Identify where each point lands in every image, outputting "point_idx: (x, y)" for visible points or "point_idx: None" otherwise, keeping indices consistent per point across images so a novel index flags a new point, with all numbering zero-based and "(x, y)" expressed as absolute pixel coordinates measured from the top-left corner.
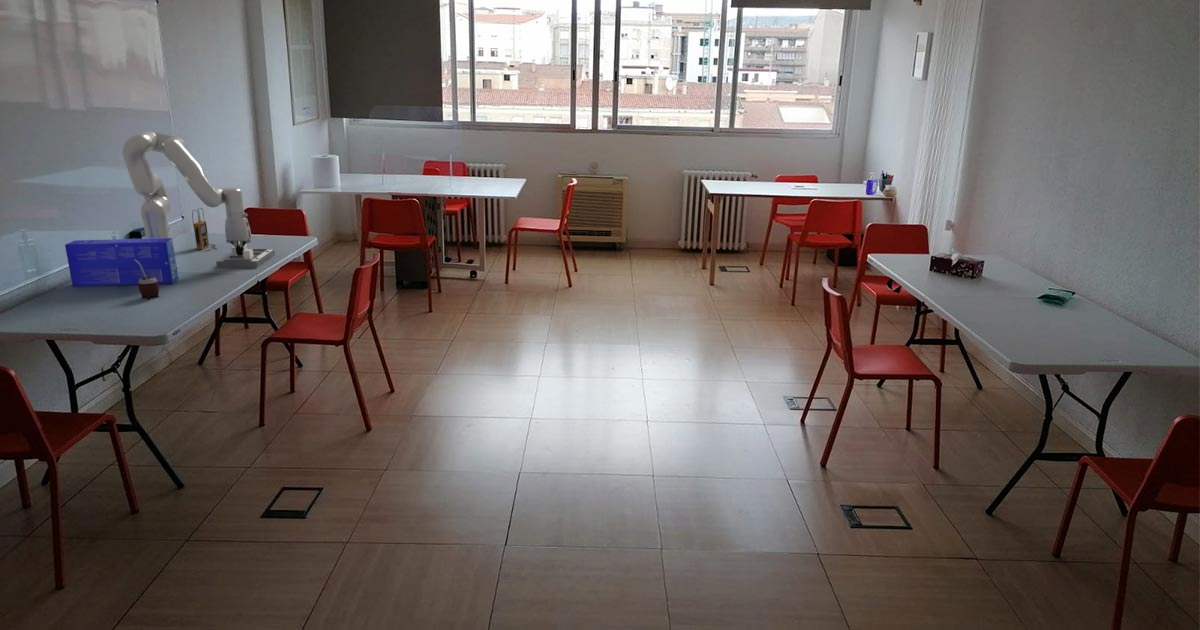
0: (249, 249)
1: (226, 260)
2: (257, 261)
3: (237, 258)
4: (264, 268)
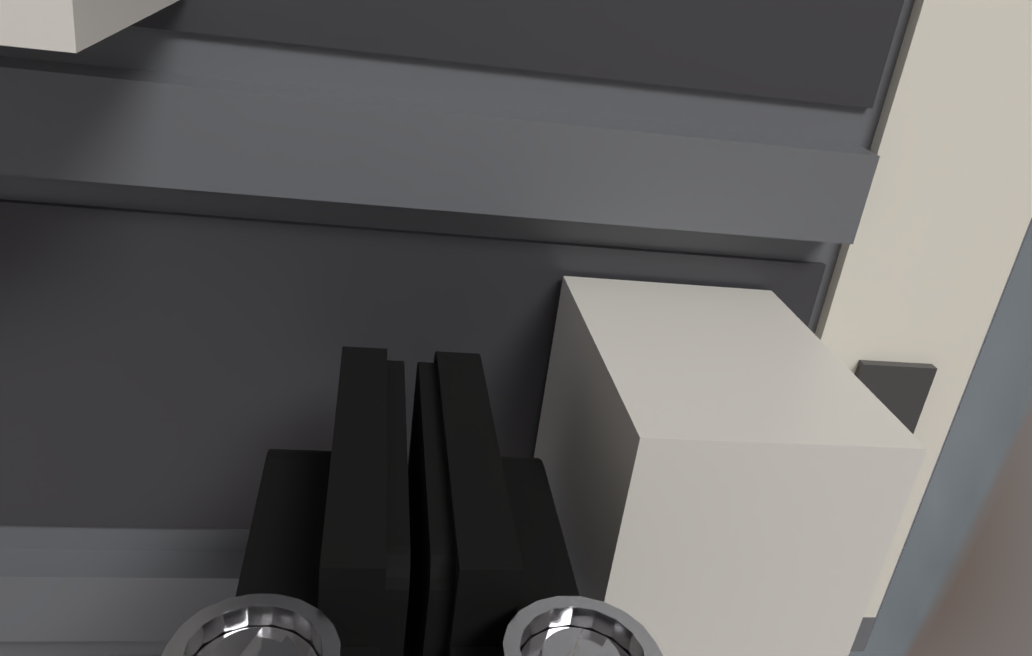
0: (799, 517)
1: (47, 622)
2: (875, 599)
3: (278, 369)
4: (928, 561)
